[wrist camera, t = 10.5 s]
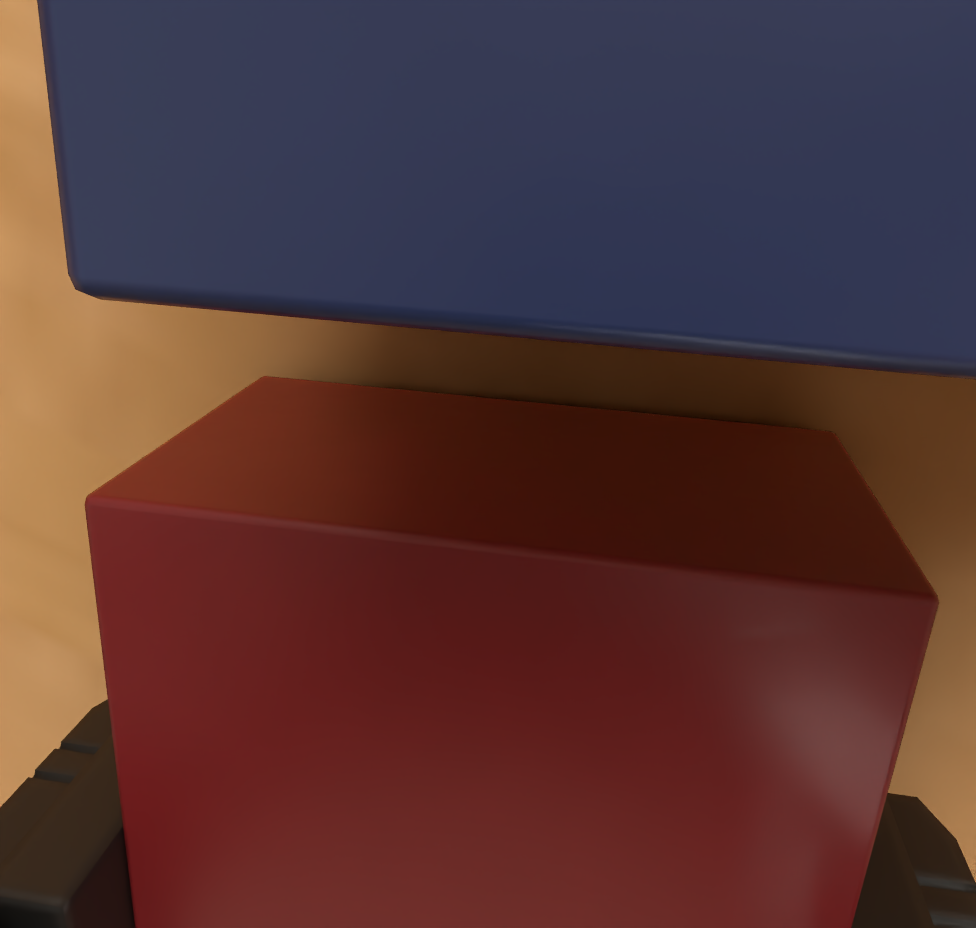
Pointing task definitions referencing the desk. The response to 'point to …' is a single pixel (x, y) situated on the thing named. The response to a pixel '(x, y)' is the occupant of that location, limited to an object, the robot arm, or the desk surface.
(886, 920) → the robot arm
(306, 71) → the navy book
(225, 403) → the burgundy paperback
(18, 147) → the desk surface
